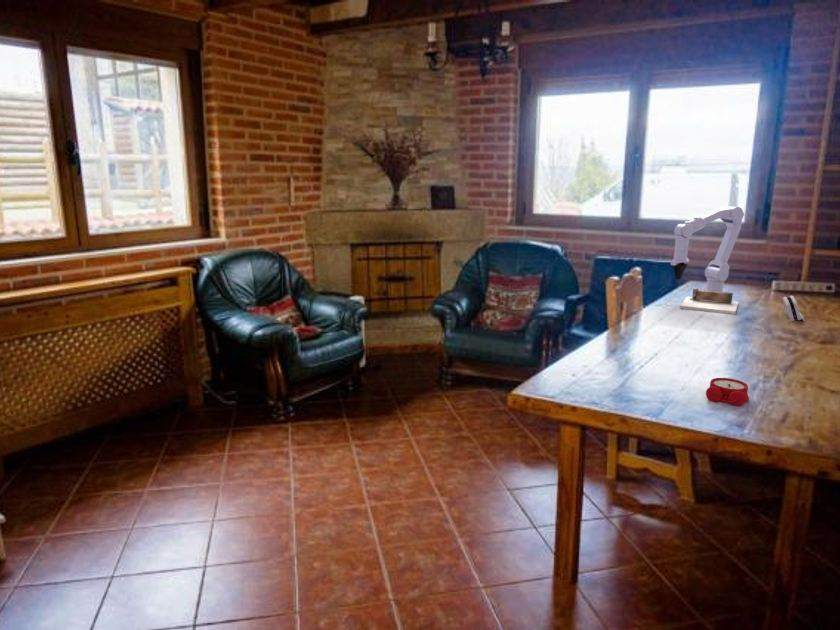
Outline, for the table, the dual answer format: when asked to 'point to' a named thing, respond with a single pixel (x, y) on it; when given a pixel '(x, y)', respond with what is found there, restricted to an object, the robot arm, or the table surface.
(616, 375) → the table surface
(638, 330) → the table surface
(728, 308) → the board
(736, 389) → the alarm clock
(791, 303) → the hinge
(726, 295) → the folding leg
